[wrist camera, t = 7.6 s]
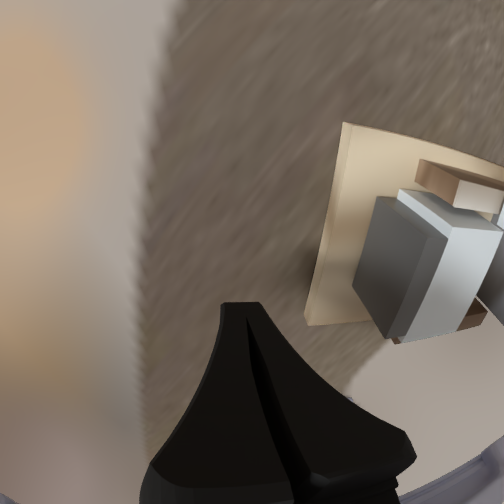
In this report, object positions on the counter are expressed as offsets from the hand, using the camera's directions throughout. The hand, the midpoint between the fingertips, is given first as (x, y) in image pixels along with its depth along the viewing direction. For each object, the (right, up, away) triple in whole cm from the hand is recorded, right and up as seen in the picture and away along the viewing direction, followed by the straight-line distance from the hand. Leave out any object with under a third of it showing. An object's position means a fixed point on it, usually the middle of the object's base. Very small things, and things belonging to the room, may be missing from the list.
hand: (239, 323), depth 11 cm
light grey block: (+9, +4, +3) cm, 10 cm away
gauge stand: (+11, +4, +6) cm, 13 cm away
